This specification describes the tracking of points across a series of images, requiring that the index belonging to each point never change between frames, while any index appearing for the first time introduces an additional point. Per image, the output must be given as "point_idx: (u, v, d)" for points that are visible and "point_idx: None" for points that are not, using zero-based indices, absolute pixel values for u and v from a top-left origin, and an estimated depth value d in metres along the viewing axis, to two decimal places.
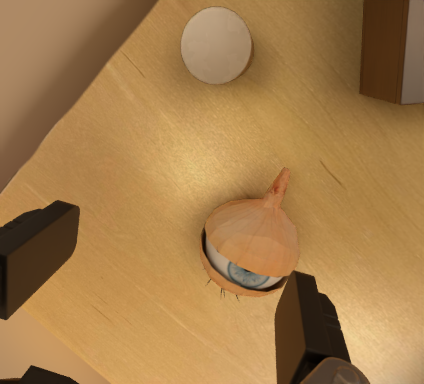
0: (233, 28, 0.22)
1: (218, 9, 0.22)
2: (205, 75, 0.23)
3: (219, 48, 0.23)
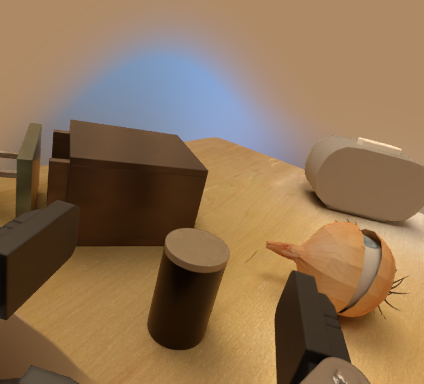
0: (180, 235, 0.25)
1: (167, 242, 0.24)
2: (223, 252, 0.25)
3: (198, 243, 0.25)
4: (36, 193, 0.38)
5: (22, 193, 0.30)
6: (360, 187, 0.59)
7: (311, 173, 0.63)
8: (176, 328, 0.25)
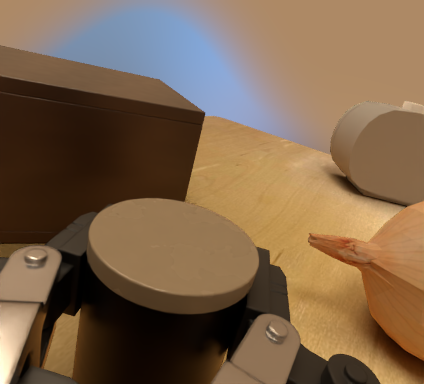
0: (136, 212, 0.10)
1: (96, 226, 0.09)
2: (243, 254, 0.10)
3: (179, 231, 0.10)
4: None
5: None
6: (409, 166, 0.45)
7: (341, 149, 0.48)
8: None
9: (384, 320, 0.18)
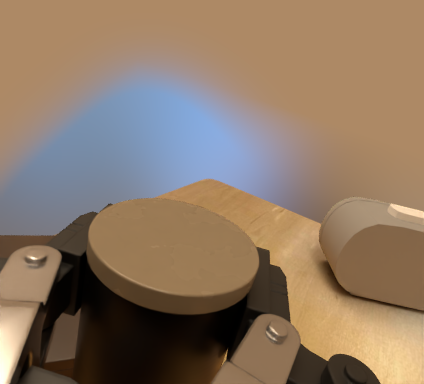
0: (136, 212, 0.10)
1: (96, 227, 0.09)
2: (243, 254, 0.10)
3: (179, 231, 0.10)
4: None
5: None
6: (394, 272, 0.45)
7: (329, 249, 0.49)
8: None
9: None
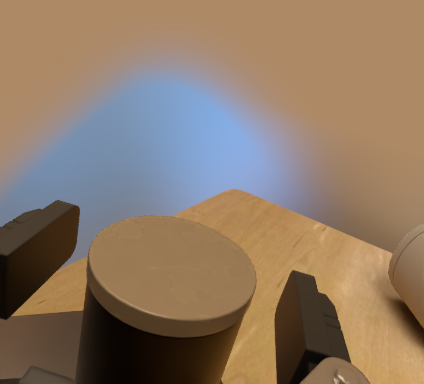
0: (135, 231, 0.10)
1: (96, 248, 0.09)
2: (241, 273, 0.10)
3: (178, 250, 0.10)
4: None
5: None
6: None
7: (412, 290, 0.37)
8: None
9: None
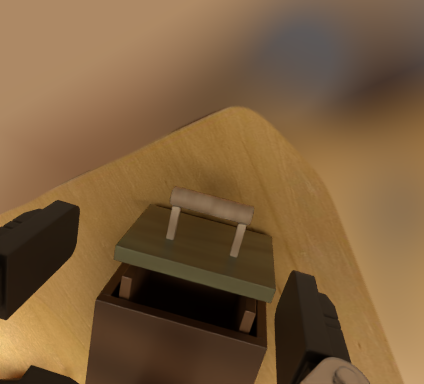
0: None
1: None
2: None
3: None
4: None
5: None
6: None
7: None
8: None
9: None
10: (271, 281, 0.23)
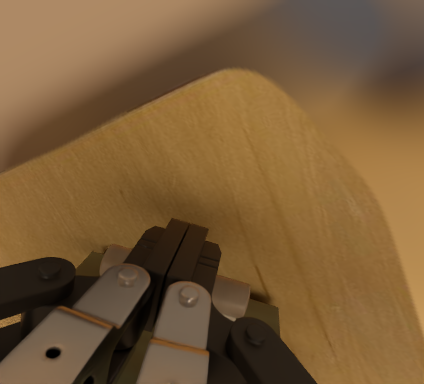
0: None
1: None
2: None
3: None
4: None
5: None
6: None
7: None
8: None
9: None
10: None
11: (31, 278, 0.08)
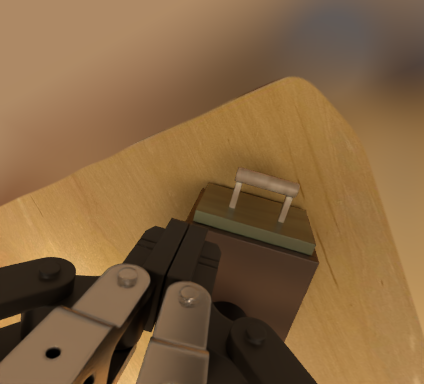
0: None
1: None
2: None
3: None
4: None
5: None
6: None
7: None
8: None
9: None
10: (311, 239, 0.31)
11: (32, 278, 0.08)
